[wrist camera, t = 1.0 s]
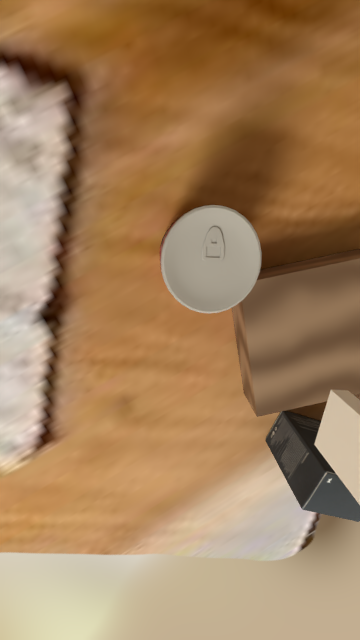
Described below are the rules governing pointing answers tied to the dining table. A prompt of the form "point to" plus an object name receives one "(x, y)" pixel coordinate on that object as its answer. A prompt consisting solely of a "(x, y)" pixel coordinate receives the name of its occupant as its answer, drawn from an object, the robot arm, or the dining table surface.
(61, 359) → the dining table surface
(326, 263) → the brown wooden block
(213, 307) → the canned food
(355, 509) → the box
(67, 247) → the dining table surface
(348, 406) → the robot arm
